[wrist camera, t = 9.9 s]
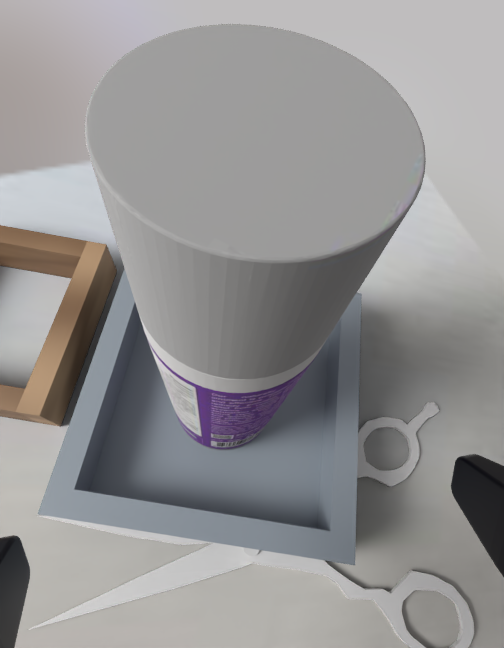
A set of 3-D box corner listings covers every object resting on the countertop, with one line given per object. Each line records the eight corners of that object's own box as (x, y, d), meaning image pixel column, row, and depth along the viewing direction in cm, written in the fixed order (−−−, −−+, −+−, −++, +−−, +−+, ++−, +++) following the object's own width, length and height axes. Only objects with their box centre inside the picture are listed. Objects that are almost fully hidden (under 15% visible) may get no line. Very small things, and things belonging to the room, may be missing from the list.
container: (281, 370, 19) (444, 65, 6) (257, 463, 17) (425, 324, 4) (194, 344, 20) (158, -11, 6) (160, 434, 17) (-8, 199, 4)
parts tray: (332, 554, 17) (354, 565, 14) (65, 512, 17) (37, 514, 14) (342, 319, 22) (361, 293, 19) (140, 282, 22) (130, 251, 19)
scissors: (515, 649, 16) (3, 752, 13) (502, 643, 17) (13, 740, 14) (436, 401, 20) (41, 437, 18) (428, 405, 21) (47, 440, 18)
